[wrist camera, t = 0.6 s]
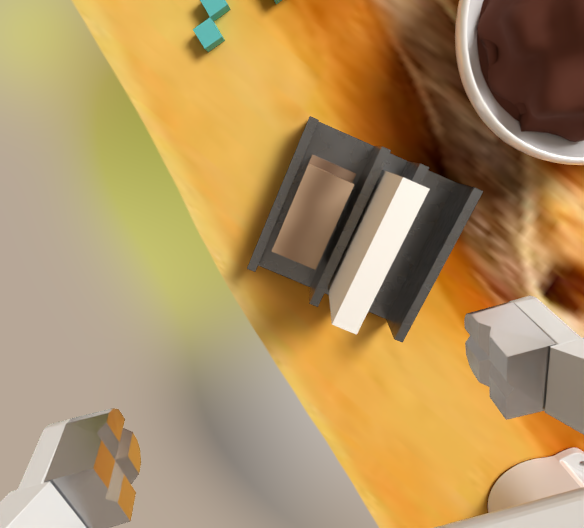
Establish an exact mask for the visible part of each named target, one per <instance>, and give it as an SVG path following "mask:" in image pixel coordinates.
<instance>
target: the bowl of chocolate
mask: <svg viewBox="0 0 584 528" xmlns="http://www.w3.org/2000/svg"><path fill="white" fill-rule="evenodd" d="M455 48H456V58H457V64H458V69H459V73H460V77H461V81H462V84H463V86H464V89H465V92H466V94H467V96H468V98H469V100H470V102H471V104H472V106H473V108H474V109H475V111H476V112H477V114H478V115H479V117H480V118H481V119H482V121H483V122H484V123H485V124H486V126H487V127H488V128H489V129H490V130H491V131H492V132H493V133H494V134H495V135H497V136H498V137H499V138H500V139H502V140H503V141H504V142H505V143H507V144H508V145H510V146H512V147H513V148H515V149H516V150H518V151H520V152H522V153H525V154H527V155H529V156H532V157H535V158H537V159H541V160H545V161H549V162H554V163H561V164H568V165H584V0H459V4H458V9H457V16H456V24H455Z"/></svg>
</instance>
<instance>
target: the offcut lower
mask: <svg viewBox="0 0 584 528" xmlns="http://www.w3.org/2000/svg"><path fill="white" fill-rule="evenodd" d="M308 164H311V165H313V166H315V167H318V168H320V169H322V170H325V171H327V172H329V173H331V174H334V175H336V176H338V177H341V178H343V179H345V180H347V181H350V182H353V180H354V178H355V176H356V174H355V173H354V172H352V171H349V170H347V169H345V168H342V167H340V166H338V165H336V164H333V163H331V162H329V161H326V160H324V159H322V158H320V157H317V156H315V155H313V154H312V156H311V159H310V161H309V163H308ZM305 171H306V170H305ZM302 178H303V177H302ZM300 183H301V182H300ZM299 185H300V184H299ZM297 190H298V189H297ZM294 197H295V196H294ZM291 204H292V203H291ZM288 211H289V210H288ZM286 216H287V215H286ZM283 223H284V222H283ZM280 230H281V229H280ZM277 237H278V236H277Z"/></svg>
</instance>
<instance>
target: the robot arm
mask: <svg viewBox="0 0 584 528" xmlns="http://www.w3.org/2000/svg"><path fill="white" fill-rule="evenodd" d="M465 329H466V330H467V332H468V333H469V334H470V337H469V338H468V340H467V341H466V343H465V345H466V355H467V358H468V362H469V365H470V367H471V369H472V371H473V373H474V375H475V376H476V378H477V379H478V381H479V382H480V383H482V384H484V385H486V386H489V387H490V398H491V399H492V401H493V402H494V403H495V405H496V406H497V408H498V409H499V410H500V412H501V413H502V415H503V416H504V417H505V419H506V420H507V419H511V418H515V417H519V416H523V415H527V414H532V413H536V412H540V411H544V410H545V413H547V414H549V415H550V416H552V417H554V418H556V419H557V420H559V421H561V422H563V423H565V424H566V425H568V426H570V427H572V428H573V429H575V430H577V431H579V432H580V433H582V434H584V338H581V337H580V336H579V335H578V334H577V333H576V332H575V331H573V330H572V329H571V328H570V327H569V326H568V325H567V324H566V323H564V322H563V321H562V320H561V319H560V318H559V317H558V316H556V315H555V314H554V313H553V312H552V311H551V310H550V309H548V308H547V307H546V306H545V305H544V304H543V303H542V302H540V301H539V300H538V299H537V298H536V297H533V296H527V297H523V298H520V299H516V300H513V301H509V302H508V303H504V304H500V305H496V306H493V307H489V308H486V309H482V310H478V311H475V312H471V313H467V314H466V316H465ZM124 421H125V419H124V417H123V415H122V414H121V412H120V411H119V410H118V409H109V410H104V411H100V412H96V413H92V414H88V415H84V416H80V417H76V418H72V419H70V420H65V421H61V422H57V423H53V424H49V425H48V426H47V427H46V428H45V429H44V430H43V432H42V435H41V437H40V439H39V442H38V444H37V446H36V448H35V451H34V453H33V455H32V458H31V460H30V462H29V465H28V467H27V469H26V471H25V474H24V476H23V478H22V481H21V483H20V485H19V488H18V490H15V491H12V492H10V493H9V494H8V495H7V496H6V497H5V498H4V499H3V500H2V501H1V502H0V528H109V527H113V526H116V525H120V524H123V523H126V522H130V521H131V516H132V511H133V505H134V499H135V494H136V492H135V490H134V489H133V487H132V486H131V484H132V483H133V481H134V480H135V479H136V477H137V476H138V475H139V472H140V465H141V457H140V448H139V444H138V441H137V439H136V437H135V436H134V434H133V432H131V431H129V430H127V429H125V428H123V425H124ZM581 461H582V462H581ZM580 462H581V463H580ZM435 528H584V452H583V451H582V450H580V449H578V448H569V449H566V450H564V451H562V452H560V453H558V454H556V455H554V456H551V457H545V458H537V459H532V460H528V461H525V462H522V463H520V464H518V465H516V466H514V467H512V468H511V469H509V470H508V471H507V472H505V473H504V474H503V475H502V476H501V477H500V478H499V479H498V480H497V482H496V483H495V484H494V486H493V488H492V490H491V492H490V495H489V499H488V513H486V514H482V515H479V516H475V517H471V518H468V519H464V520H461V521H457V522H453V523H450V524H446V525H442V526H439V527H435Z"/></svg>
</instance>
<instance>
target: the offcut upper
mask: <svg viewBox="0 0 584 528" xmlns="http://www.w3.org/2000/svg"><path fill="white" fill-rule="evenodd" d="M353 187H354V184H353V183H352V182H350V181H347V180H345V179H343V178H341V177H338V176H336V175H334V174H331V173H329V172H327V171H325V170H322V169H320V168H318V167H315V166H313V165H311V164H308V166H307V168H306V171H305V173H304V175H303V178H302V180H301V183H300V185H299V187H298V190H297V192H296V194H295V197H294V199H293V201H292V204H291V206H290V208H289V211H288V213H287V216H286V218H285V220H284V223H283V225H282V227H281V230H280V232H279V234H278V237H277V239H276V241H275V244H274V246H273V249H272V252H274V253H277V254H279V255H281V256H284V257H286V258H289V259H291V260H293V261H296V262H298V263H300V264H303V265H305V266H307V267H310V268H312V269H315V270H316V268H317V266H318V263H319V261H320V259H321V257H322V255H323V252H324V250H325V248H326V246H327V244H328V241H329V239H330V237H331V235H332V233H333V230H334V228H335V226H336V224H337V222H338V220H339V217H340V215H341V213H342V211H343V209H344V206H345V204H346V202H347V200H348V198H349V195H350V193H351V191H352V189H353Z"/></svg>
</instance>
